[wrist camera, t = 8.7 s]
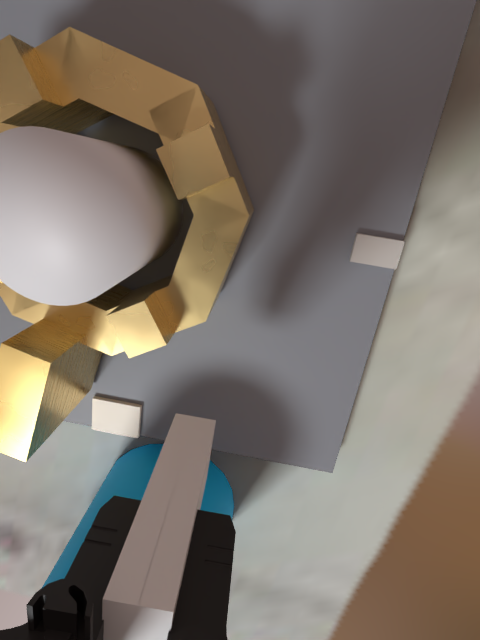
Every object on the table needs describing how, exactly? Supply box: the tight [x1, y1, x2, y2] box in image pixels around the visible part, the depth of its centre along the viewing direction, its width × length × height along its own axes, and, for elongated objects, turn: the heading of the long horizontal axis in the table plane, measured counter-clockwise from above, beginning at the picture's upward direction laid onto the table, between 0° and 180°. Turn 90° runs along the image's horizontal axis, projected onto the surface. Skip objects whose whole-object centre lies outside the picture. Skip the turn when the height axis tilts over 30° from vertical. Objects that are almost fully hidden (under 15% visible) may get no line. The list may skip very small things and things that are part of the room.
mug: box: [41, 444, 234, 589], centre depth 21 cm, size 12×8×8 cm
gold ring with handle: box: [0, 27, 254, 462], centre depth 15 cm, size 15×10×6 cm
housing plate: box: [0, 0, 477, 473], centre depth 14 cm, size 24×24×8 cm
